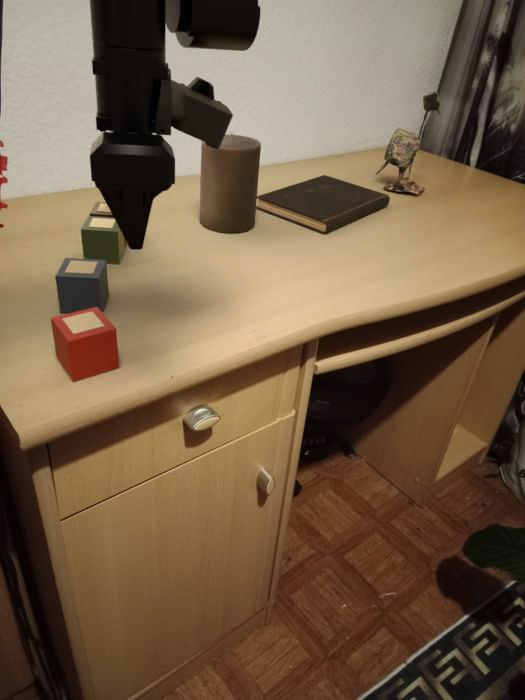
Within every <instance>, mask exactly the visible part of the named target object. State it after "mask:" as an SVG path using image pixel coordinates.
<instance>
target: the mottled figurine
mask: <svg viewBox="0 0 525 700" xmlns="http://www.w3.org/2000/svg"><path fill="white" fill-rule="evenodd" d="M422 104H423V110H424V114H423V119H422V120H423V121H422V122H421V123H422V124H421V126H420V129H419V133H418V134H419V135H418V134H415V133H413V132H411V131H409V130H407V129H405V128H396V130H395V131H394V132H393V134H392V136H391V138H390V139H389V143H388V144H387V146H386V149H385V152H384V157H383V158H384V160H385V162H383V163H384V164H382V165H381V167H380V168H378V170H377V171H375V173H374V175H375V176H376V175H378V174H380V172H381V171H383V170H384V169H385V168H386V167H387V166H388V165H389V164H390V165H391V166H394V167H396V168H398V177H397V180H396V181H395V180H391V181H390V180H388V181H387V182H386V184H385V185H384V186H383V187H382V189H385V190H390V191H391V192H392V191H393V192H407V193H413V194H414V195H420V194H421V193H422V191H425V190H426V187H421V186H420V185H418V184H417V183H416V182H415V181H416V180H415V178H412V177H410V175H411V170H412V166H413V163H414V160H415V158H416V156H417V153H418V151H419V149H420V147H421V144H422V143H421V142H422V141H421V135H422V132H423V128H424V124H425V122H426V119H427V118H428V115H429V114H428V113H429V112H431V111H434V112H437V114H441V111H440V107H441V101H440V96H439V92H437V91H432V92H430V93H427V94H425V95H424V96H423V97H422ZM407 169H409V170H408V175H407V177H404V176H405V173H406V171H407ZM420 187H421V188H420ZM404 189H405V190H404Z"/></svg>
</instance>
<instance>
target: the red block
mask: <svg viewBox="0 0 525 700" xmlns="http://www.w3.org/2000/svg"><path fill="white" fill-rule="evenodd" d="M50 323H51V330H52V331H51V332H52V336H53V344H54V349H55V351H54V352H55V357H56V359H57V360H58V362H59V364H60V365H61V366H62V367H63V369H64V371H65V372H66V373H67V375H68V376H69V378H70V379H71V381H72V382H73V383H74V382H78V381H80V380H83V379H88V378H90V377H93V376H97V375H100V374H104V373H107V372H110V371H113V370H117V369H119V368H120V361H119V359H120V358H119V347H118V332H117V327H116V326H115V325H114V324H113V323H112V322H111V320H109V318H108V317H107V316H106V315H105V314H104V312H103V313H102V312H101V310H100V309H99V308H98V307H94V308H90V309H86V310H81V311H77V312H73V313H63V314H61V315H56V316H52V317H50Z"/></svg>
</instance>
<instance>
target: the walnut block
mask: <svg viewBox="0 0 525 700" xmlns="http://www.w3.org/2000/svg"><path fill="white" fill-rule="evenodd" d="M89 216H95V217H111V218H114V217H113V215H112V213H111V211H110V209H109V207H108V205H107V203H106V202H105V201H95V202H94V204H93V206H92V208H91V210H90V212H89ZM124 242H125V248H126V247H127V246H128V244H127V242H126V240H125V238H124Z"/></svg>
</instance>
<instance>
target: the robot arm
mask: <svg viewBox="0 0 525 700" xmlns="http://www.w3.org/2000/svg"><path fill="white" fill-rule="evenodd" d="M89 9H90V25H91V40H92V55H93V56H92V58H91V65H92V66H91V68H92V75H94V86H95V100H96V102H95V103H96V114H95V125H96V127H95V129H96V131H99V132H100V135H98V137H97V138H96V139H95V140H94V141H93V142H92V143H91V148H90V153H89V163H90V179H91V181H92V182H94V183H93V184H94V185H95V188H97V189H98V191H99V192H100V195H101V196H102V198H103V200H104V202H106V203H107V205H108V207H109V209H110V211H111V213H112V215H113V217H114V218H115V220H116V222H117V224H118V226H119V228H120V230H121V232H122V234H123V236H124V238H125V240H126V242H127V246H128V248H129V249H130V250H133V251H134V250H135V251H139V250H142V249H143V247H144V243H145V239H146V234H147V230H148V224H149V220H150V217H151V216H150V215H151V212H152V206H153V202H154V200H155V198H157V197H158V196H159V195H160V194H162V193H163V192H167V191H168V190H170V189H171V188H172V186H173V185H175V184H176V157H175V154H174V150H173V147H172V145H170V143H169V142H168V141H167V140H166V139H165V138H164V136H172V128H173V129H174V130H177V131H179V132H181V133H183V134H186V135H188V136H190V137H192V138H194V139H196V140H198V141H201V142H202V141H204V142H205V144H206V145H207V146H209V147H212V148H214V149H219V148H220V146H221V143H222V141H223V138H224V136H225V135H226V134H227V132H228V128H229V126H230V123H231V121H232V119H233V116H234V114H233V112H232V111H231V109H230V108H229V107H228V106H227V105H226V104H224V103H223V102H222V101H220V100H216V99H215V88H214V86H213V84H212V83H211V82H209V81H207V80H205V79H203V78H202V77H199V76H196V77H194V79H193V80H192V81H191V82H189V84H188V85H187V86H186V84H185V83H183V82H181V83H179V82H177V81H175V80H173V79H172V70H171V68H169V63H168V62H166V54H167V53H166V51H167V50H166V43H167V42H166V33H167V32H166V31H167V30H168V32H169V33H170V34H175V37H176V40H177V42H178V44H179V45H180V46H181V47H182V48H185V49H201V50H217V51H220V50H221V51H238V52H239V51H240V52H244V51H245V52H246V51H248V50H249V49H250V48H251V47H252V45H254V42H255V40H256V38H257V35H258V31H259V28H260V21H261V12H262V11H261V6H260V5H259V0H89ZM166 28H167V30H166Z"/></svg>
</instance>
